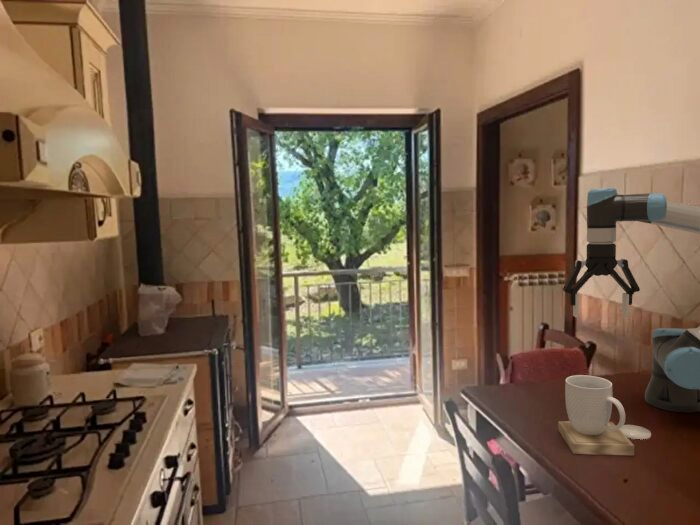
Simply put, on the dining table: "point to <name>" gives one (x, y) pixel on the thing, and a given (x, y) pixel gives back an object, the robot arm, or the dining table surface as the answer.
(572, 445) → the base
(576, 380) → the mug
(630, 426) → the white oval dome
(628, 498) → the dining table surface
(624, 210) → the robot arm
